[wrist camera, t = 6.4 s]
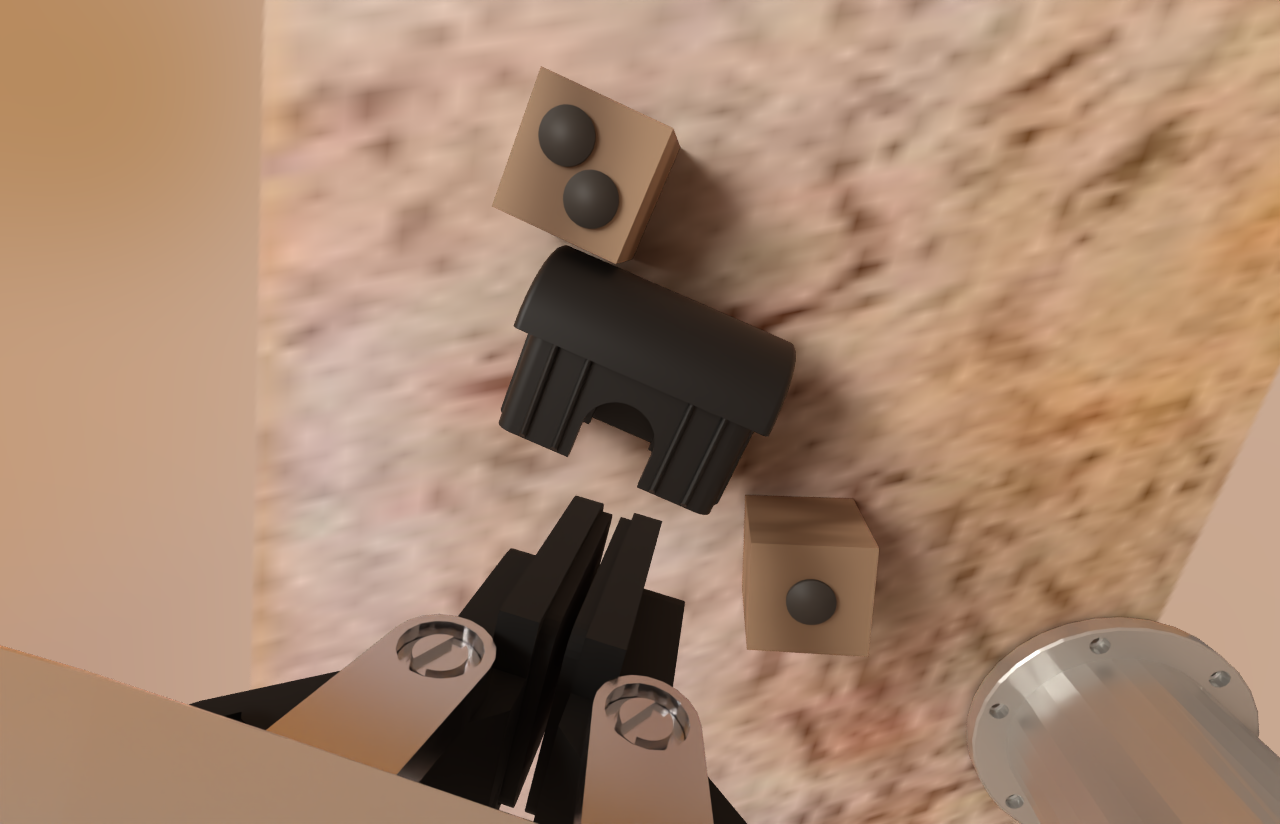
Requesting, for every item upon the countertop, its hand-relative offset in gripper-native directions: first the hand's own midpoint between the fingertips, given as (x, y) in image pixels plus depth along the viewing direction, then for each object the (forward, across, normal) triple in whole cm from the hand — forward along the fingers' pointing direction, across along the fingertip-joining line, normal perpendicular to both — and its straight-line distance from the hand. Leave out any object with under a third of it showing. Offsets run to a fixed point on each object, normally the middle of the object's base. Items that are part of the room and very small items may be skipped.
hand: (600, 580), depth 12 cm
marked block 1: (+18, +6, -8) cm, 20 cm away
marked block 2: (+19, -7, +6) cm, 21 cm away
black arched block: (+18, +2, -1) cm, 19 cm away
